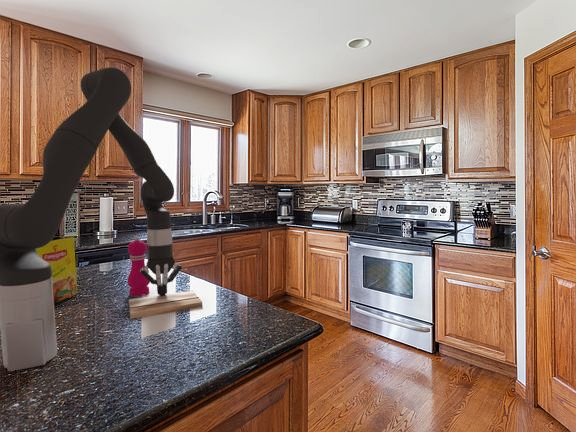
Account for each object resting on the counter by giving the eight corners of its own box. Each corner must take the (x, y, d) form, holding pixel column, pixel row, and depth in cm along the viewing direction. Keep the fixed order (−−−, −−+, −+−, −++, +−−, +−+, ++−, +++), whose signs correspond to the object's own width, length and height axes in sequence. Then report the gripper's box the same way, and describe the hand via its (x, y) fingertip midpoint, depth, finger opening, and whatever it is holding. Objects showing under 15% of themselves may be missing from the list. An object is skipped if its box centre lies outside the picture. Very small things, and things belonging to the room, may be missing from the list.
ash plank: (197, 301, 109) (197, 297, 109) (130, 312, 100) (130, 307, 100) (193, 294, 115) (192, 290, 115) (129, 304, 106) (128, 299, 106)
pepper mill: (123, 294, 117) (120, 237, 115) (141, 289, 123) (138, 234, 122) (137, 297, 114) (134, 238, 112) (155, 291, 120) (152, 235, 118)
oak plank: (202, 306, 104) (202, 301, 104) (130, 318, 95) (130, 312, 95) (198, 301, 109) (198, 296, 109) (129, 313, 100) (129, 307, 99)
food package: (38, 309, 103) (33, 244, 102) (35, 309, 104) (30, 244, 102) (78, 294, 118) (75, 237, 117) (75, 293, 119) (72, 236, 117)
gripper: (138, 246, 102) (141, 302, 104) (183, 242, 108) (185, 295, 110) (136, 242, 109) (139, 295, 110) (179, 239, 115) (181, 289, 117)
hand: (162, 295), depth 110 cm, fingers closed
